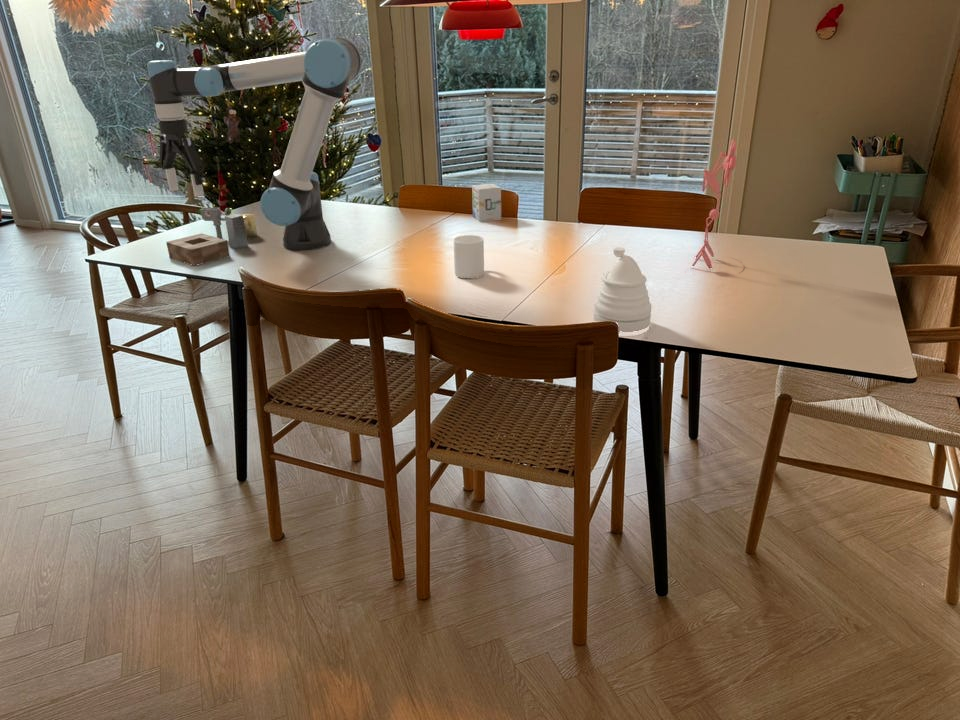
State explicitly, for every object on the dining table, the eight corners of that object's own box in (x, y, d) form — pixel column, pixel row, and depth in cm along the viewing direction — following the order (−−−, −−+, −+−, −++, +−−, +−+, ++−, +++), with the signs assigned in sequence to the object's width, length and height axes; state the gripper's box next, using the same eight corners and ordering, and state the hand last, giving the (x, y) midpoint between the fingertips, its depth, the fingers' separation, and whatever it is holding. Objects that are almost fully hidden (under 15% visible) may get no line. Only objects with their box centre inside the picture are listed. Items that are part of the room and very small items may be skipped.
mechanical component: (233, 239, 233) (228, 209, 229) (203, 239, 233) (197, 209, 229) (236, 236, 236) (231, 207, 231) (206, 237, 236) (200, 207, 232)
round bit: (261, 235, 236) (257, 215, 233) (245, 239, 232) (242, 219, 229) (250, 233, 240) (247, 212, 237) (235, 236, 236) (231, 216, 232)
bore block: (229, 256, 215) (226, 240, 213) (194, 266, 207) (191, 249, 205) (204, 248, 223) (201, 233, 221) (169, 257, 215) (166, 241, 213)
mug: (469, 264, 204) (469, 230, 200) (495, 268, 200) (494, 233, 196) (449, 277, 194) (448, 241, 190) (475, 281, 191) (474, 244, 186)
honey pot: (583, 327, 161) (587, 252, 153) (609, 311, 170) (615, 239, 162) (633, 341, 153) (640, 262, 146) (659, 323, 163) (666, 248, 155)
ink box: (472, 216, 256) (471, 184, 250) (494, 214, 258) (494, 182, 253) (479, 222, 248) (478, 189, 243) (501, 219, 250) (501, 187, 245)
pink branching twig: (683, 276, 191) (702, 145, 176) (694, 251, 213) (712, 131, 197) (742, 284, 186) (767, 149, 171) (747, 257, 208) (770, 135, 192)
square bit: (247, 246, 225) (242, 215, 221) (237, 249, 223) (231, 218, 218) (240, 244, 228) (235, 213, 223) (230, 246, 225) (224, 216, 220)
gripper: (208, 120, 196) (221, 195, 205) (160, 115, 210) (175, 186, 219) (183, 123, 190) (198, 200, 200) (136, 117, 204) (153, 190, 213)
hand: (186, 193), depth 209 cm, fingers open, 13 cm apart
